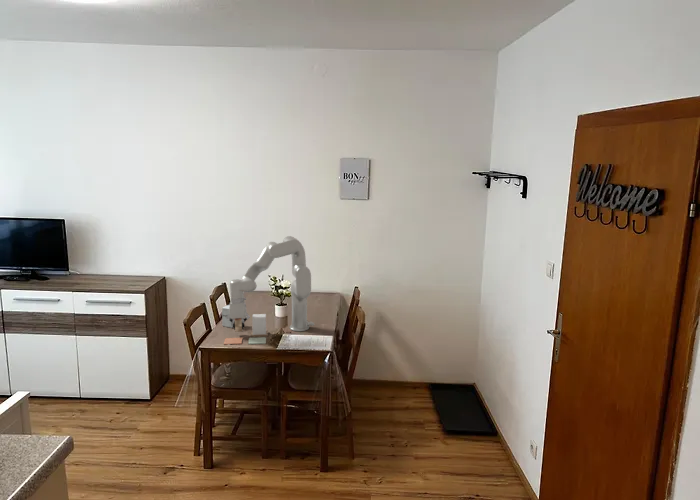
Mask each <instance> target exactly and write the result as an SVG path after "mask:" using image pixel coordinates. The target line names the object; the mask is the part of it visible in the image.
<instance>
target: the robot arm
mask: <svg viewBox="0 0 700 500" xmlns="http://www.w3.org/2000/svg"><path fill="white" fill-rule="evenodd" d="M289 255H291V273H292V276H293V277H294V278H295V280H293V282H292V283H291V286H290V295H291V324H290V325H289V329H290V330H291V331H294V332H305V331H308V330H309V329H310V326H315V321H314V322H313V321H308V297H310V295H311V292H312V273H311V270H310V268H309V267H308V266H307V263H306V262H307V261H306V260H307V259H306V251H305V248H304V246H303V245H302V243H301V242H300V240H298V239H297V238H295V237H294V236H291V235H288V236H285V237H284V238H283V240H282V242H278V243H277V242H275V241H269V242H268V243H267V244H266V245H265V246H264V248H263V249H262V251H261V253H260V254H259V255H258V258H256V260H255V262H254V263H253V264H252V265H251V266H250V267H249V268H248V269H246V270H247V271H246V272H245V273H244V274H243V277H242V278H241V279H232V280H231V281H230V282H229V290H230V291H229V292H230V302H229V305H230V306H229V315H228V316H227V318H226V319H227V320H229V321H231V322H232V323H233V327H232V328H233V330H234V331H235V319H240V318H241V319H242V330H244V328H245V322H246V321H247V320H249V319H250V318H251V316H250V315H249V314H248V312H247V305H246V300H247V297H244V293H252V292H254V291H255V290H256V289H257V283H256V279H257V278H258V276H259V275H260V274H261V273H262V272H264V271H267V270H268V269H269V268H270V266H271V264H272V263H273V262H274V260H275V259H279V258H283V257H286V256H289Z"/></svg>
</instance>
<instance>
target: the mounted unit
mask: <svg viewBox="0 0 700 500" xmlns="http://www.w3.org/2000/svg"><path fill="white" fill-rule="evenodd" d="M251 318H252V319H251V320H252V323H251V324H252V330H251V332H250V338H260V337H266V338H267V337H269V335H268V334H269V330H267V314H266V313H260V314H259V313H253V314H252V316H251Z"/></svg>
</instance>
